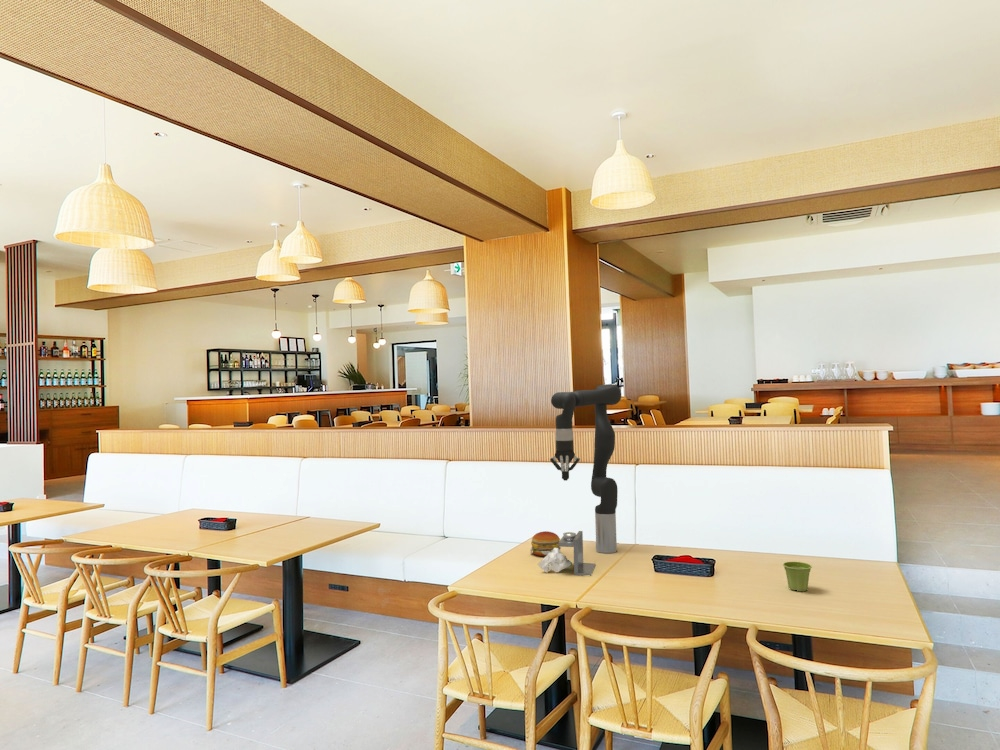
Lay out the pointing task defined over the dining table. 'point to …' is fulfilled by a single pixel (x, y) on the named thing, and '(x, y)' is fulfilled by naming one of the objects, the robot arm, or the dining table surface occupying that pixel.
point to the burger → (544, 543)
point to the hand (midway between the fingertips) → (565, 480)
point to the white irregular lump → (555, 561)
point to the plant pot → (797, 575)
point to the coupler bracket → (577, 552)
